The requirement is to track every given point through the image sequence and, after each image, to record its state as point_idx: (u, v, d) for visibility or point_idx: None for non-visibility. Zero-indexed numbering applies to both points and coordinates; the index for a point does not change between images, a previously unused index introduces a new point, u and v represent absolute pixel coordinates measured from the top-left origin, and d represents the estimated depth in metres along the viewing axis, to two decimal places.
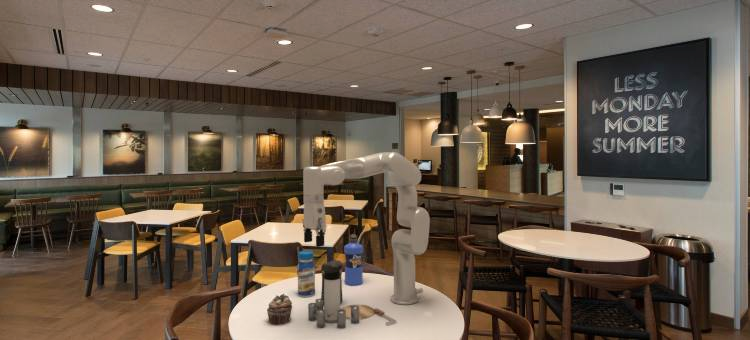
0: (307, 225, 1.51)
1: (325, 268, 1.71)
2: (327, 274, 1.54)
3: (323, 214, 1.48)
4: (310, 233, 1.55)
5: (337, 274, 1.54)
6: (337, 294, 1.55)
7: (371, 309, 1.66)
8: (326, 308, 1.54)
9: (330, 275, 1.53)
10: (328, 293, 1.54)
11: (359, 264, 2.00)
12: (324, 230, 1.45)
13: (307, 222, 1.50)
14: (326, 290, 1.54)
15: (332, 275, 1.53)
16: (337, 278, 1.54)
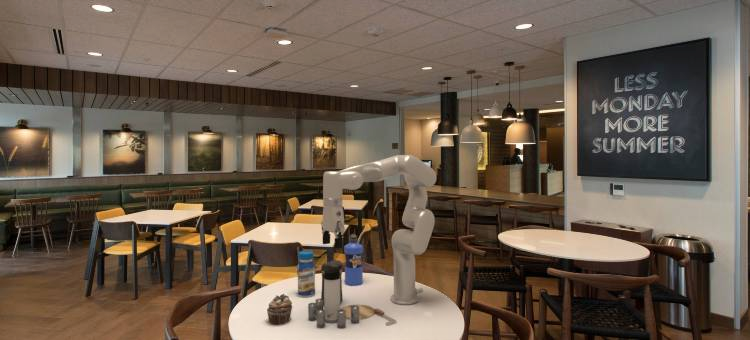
0: (326, 228, 1.56)
1: (325, 268, 1.71)
2: (327, 274, 1.54)
3: (342, 217, 1.54)
4: (328, 235, 1.61)
5: (337, 274, 1.54)
6: (337, 294, 1.55)
7: (371, 309, 1.66)
8: (326, 308, 1.54)
9: (330, 275, 1.53)
10: (328, 293, 1.54)
11: (359, 264, 2.00)
12: (342, 233, 1.51)
13: (326, 225, 1.56)
14: (326, 290, 1.54)
15: (332, 275, 1.53)
16: (337, 278, 1.54)
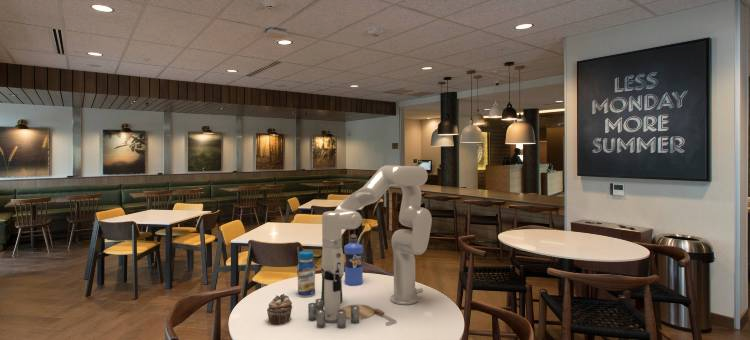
0: (326, 268, 1.56)
1: None
2: (327, 274, 1.53)
3: (341, 258, 1.53)
4: None
5: (337, 274, 1.54)
6: (338, 294, 1.55)
7: (371, 309, 1.66)
8: (326, 308, 1.54)
9: (330, 275, 1.53)
10: (328, 293, 1.54)
11: (359, 264, 2.00)
12: (341, 276, 1.51)
13: (326, 265, 1.55)
14: (326, 290, 1.54)
15: (332, 275, 1.53)
16: None
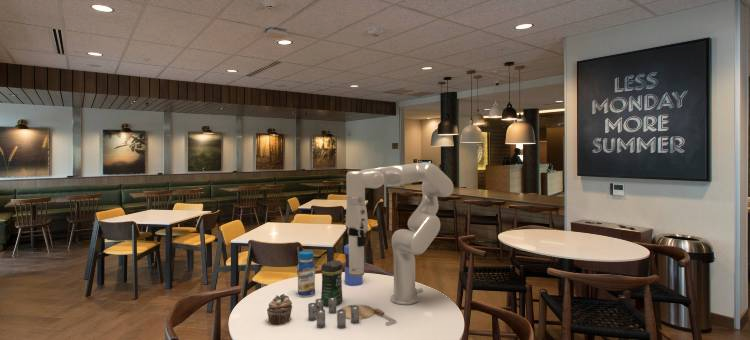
0: (350, 225, 1.63)
1: (325, 268, 1.71)
2: (352, 230, 1.61)
3: (365, 215, 1.60)
4: None
5: None
6: (362, 250, 1.62)
7: (371, 309, 1.66)
8: (351, 263, 1.62)
9: (355, 231, 1.61)
10: (353, 248, 1.61)
11: None
12: (365, 231, 1.59)
13: (350, 222, 1.63)
14: (351, 245, 1.61)
15: None
16: None
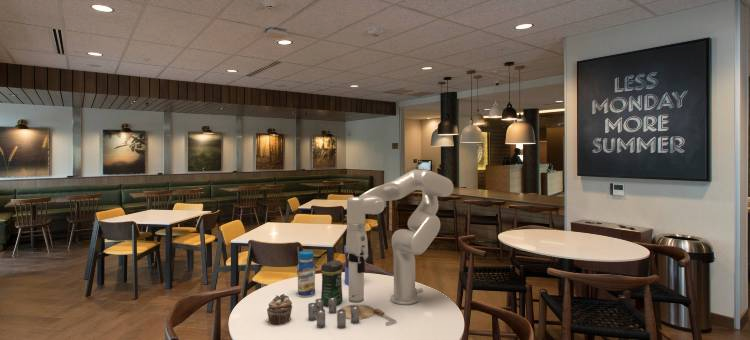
0: (350, 251, 1.63)
1: (325, 268, 1.71)
2: (352, 256, 1.61)
3: (365, 242, 1.61)
4: None
5: (361, 257, 1.62)
6: (361, 276, 1.62)
7: (371, 309, 1.66)
8: (351, 289, 1.62)
9: (355, 257, 1.61)
10: (352, 274, 1.61)
11: None
12: (365, 258, 1.59)
13: (350, 248, 1.63)
14: (351, 272, 1.62)
15: None
16: None
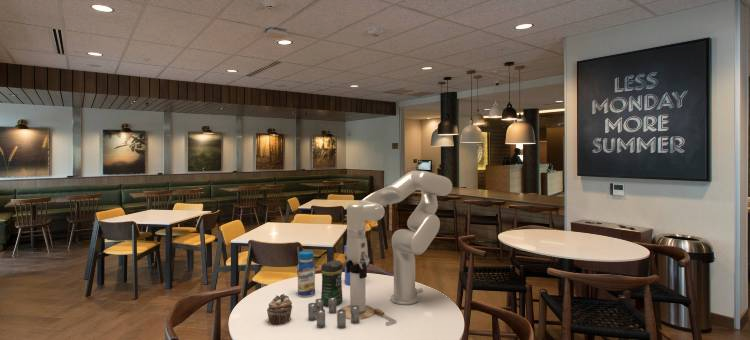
0: (350, 258, 1.64)
1: (325, 268, 1.71)
2: (353, 268, 1.61)
3: (366, 248, 1.61)
4: (352, 264, 1.68)
5: None
6: (363, 287, 1.62)
7: (371, 309, 1.66)
8: (352, 300, 1.62)
9: (356, 268, 1.61)
10: (354, 286, 1.61)
11: None
12: (367, 263, 1.58)
13: (350, 255, 1.63)
14: (352, 283, 1.61)
15: (358, 268, 1.61)
16: None
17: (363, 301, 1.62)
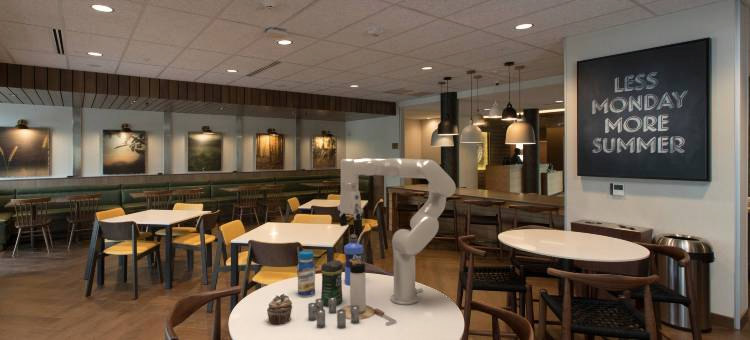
0: (344, 210, 1.70)
1: (325, 268, 1.71)
2: (353, 268, 1.61)
3: (359, 200, 1.68)
4: (345, 218, 1.75)
5: (363, 268, 1.62)
6: (363, 287, 1.62)
7: (371, 309, 1.66)
8: (352, 300, 1.62)
9: (356, 268, 1.61)
10: (354, 286, 1.61)
11: None
12: (361, 214, 1.65)
13: (344, 208, 1.70)
14: (352, 283, 1.61)
15: (358, 268, 1.61)
16: (363, 271, 1.62)
17: (363, 301, 1.62)
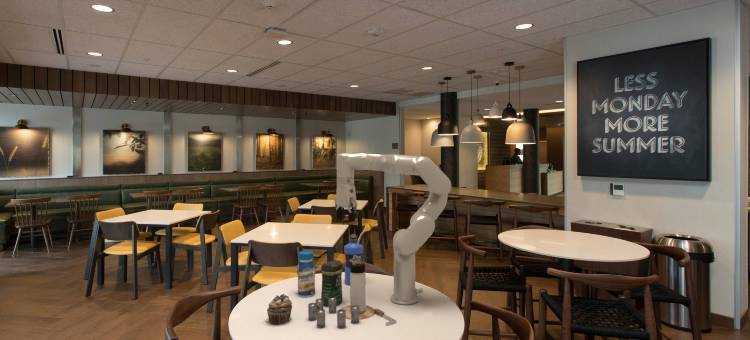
0: (340, 204, 1.75)
1: (325, 268, 1.71)
2: (353, 268, 1.61)
3: (354, 194, 1.72)
4: (341, 211, 1.80)
5: (363, 268, 1.62)
6: (363, 287, 1.62)
7: (371, 309, 1.66)
8: (352, 300, 1.62)
9: (356, 268, 1.61)
10: (354, 286, 1.61)
11: None
12: (355, 207, 1.69)
13: (340, 201, 1.75)
14: (352, 283, 1.61)
15: (358, 268, 1.61)
16: (363, 271, 1.62)
17: (363, 301, 1.62)
